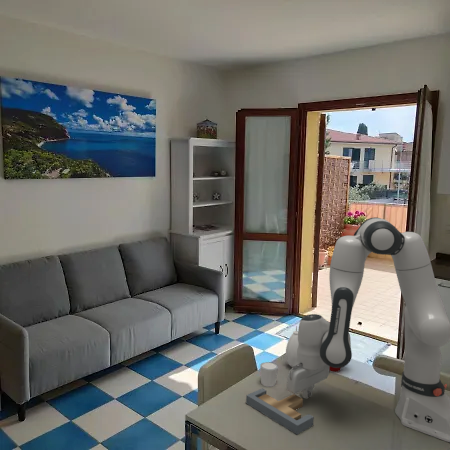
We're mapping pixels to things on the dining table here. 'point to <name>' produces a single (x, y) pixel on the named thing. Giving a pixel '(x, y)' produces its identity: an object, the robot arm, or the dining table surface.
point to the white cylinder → (268, 374)
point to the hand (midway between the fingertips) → (307, 396)
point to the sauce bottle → (292, 349)
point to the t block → (285, 404)
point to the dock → (278, 413)
